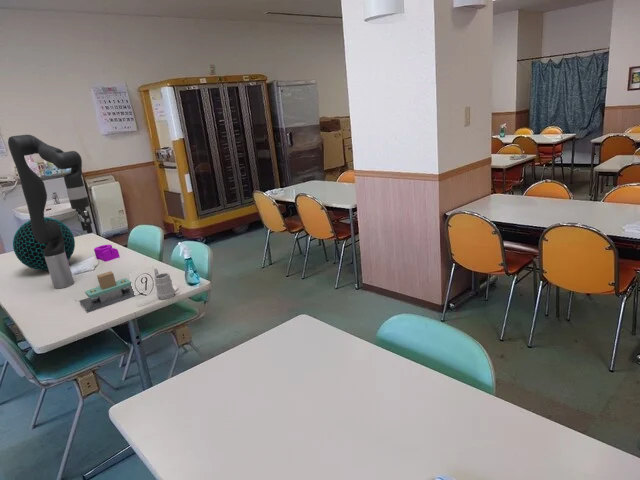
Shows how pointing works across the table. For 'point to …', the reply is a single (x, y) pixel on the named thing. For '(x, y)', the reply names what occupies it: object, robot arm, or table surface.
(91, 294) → the board
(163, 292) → the mug
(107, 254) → the tape dispenser
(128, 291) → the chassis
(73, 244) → the decorative sphere
